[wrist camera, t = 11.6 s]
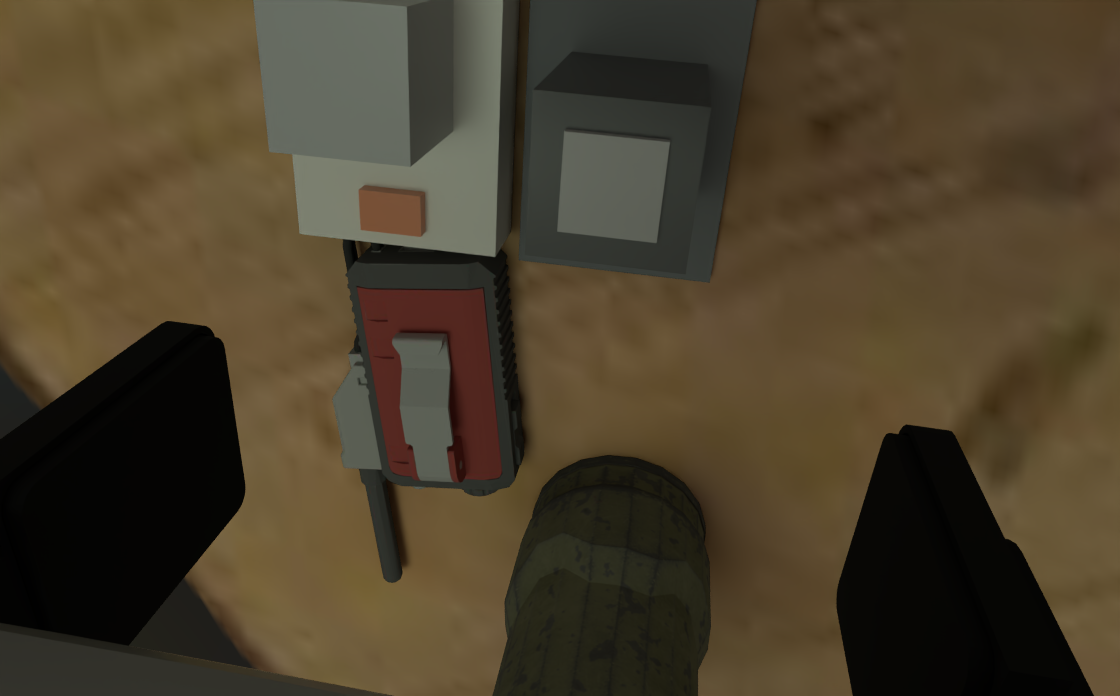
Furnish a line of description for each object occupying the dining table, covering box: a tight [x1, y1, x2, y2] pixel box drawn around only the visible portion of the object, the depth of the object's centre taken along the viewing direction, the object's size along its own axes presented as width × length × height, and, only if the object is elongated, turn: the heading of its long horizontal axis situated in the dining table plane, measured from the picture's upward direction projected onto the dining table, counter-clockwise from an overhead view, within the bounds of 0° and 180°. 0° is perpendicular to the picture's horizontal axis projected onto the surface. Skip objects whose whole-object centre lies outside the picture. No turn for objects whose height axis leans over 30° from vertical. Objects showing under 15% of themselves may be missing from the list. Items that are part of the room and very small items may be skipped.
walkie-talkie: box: [332, 239, 524, 583], centre depth 37 cm, size 9×4×20 cm
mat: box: [519, 0, 757, 283], centre depth 31 cm, size 8×12×1 cm, turn 177°
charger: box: [525, 52, 711, 274], centre depth 27 cm, size 5×5×8 cm
